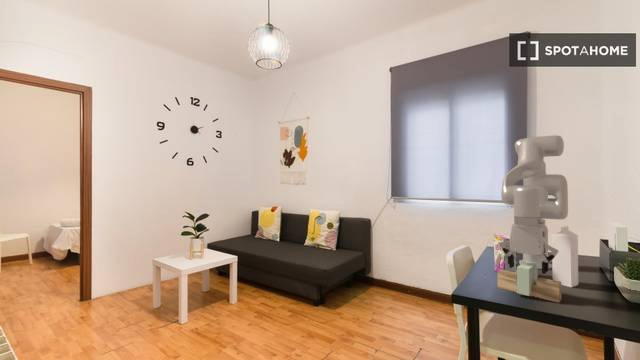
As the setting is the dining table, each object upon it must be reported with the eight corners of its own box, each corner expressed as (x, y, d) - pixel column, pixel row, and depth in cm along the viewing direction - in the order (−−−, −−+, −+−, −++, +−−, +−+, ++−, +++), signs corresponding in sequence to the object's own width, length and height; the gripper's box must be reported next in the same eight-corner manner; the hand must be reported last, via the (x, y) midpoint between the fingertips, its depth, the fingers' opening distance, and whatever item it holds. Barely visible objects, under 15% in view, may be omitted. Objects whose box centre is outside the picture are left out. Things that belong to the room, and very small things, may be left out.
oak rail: (500, 285, 111) (500, 269, 111) (561, 299, 97) (561, 281, 98) (497, 287, 109) (497, 271, 109) (559, 302, 95) (558, 284, 95)
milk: (578, 284, 111) (578, 227, 111) (571, 287, 108) (571, 228, 108) (559, 280, 117) (559, 225, 117) (551, 282, 114) (551, 226, 114)
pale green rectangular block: (526, 285, 108) (525, 261, 108) (537, 288, 105) (537, 263, 105) (517, 293, 101) (516, 267, 101) (529, 296, 98) (528, 269, 98)
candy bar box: (493, 270, 129) (493, 233, 129) (505, 271, 128) (505, 234, 128) (503, 279, 118) (503, 238, 118) (517, 279, 117) (517, 239, 117)
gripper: (560, 223, 99) (560, 273, 99) (502, 218, 112) (503, 262, 112) (555, 225, 94) (556, 278, 94) (495, 220, 107) (496, 266, 107)
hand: (527, 269), depth 103 cm, fingers open, 9 cm apart
